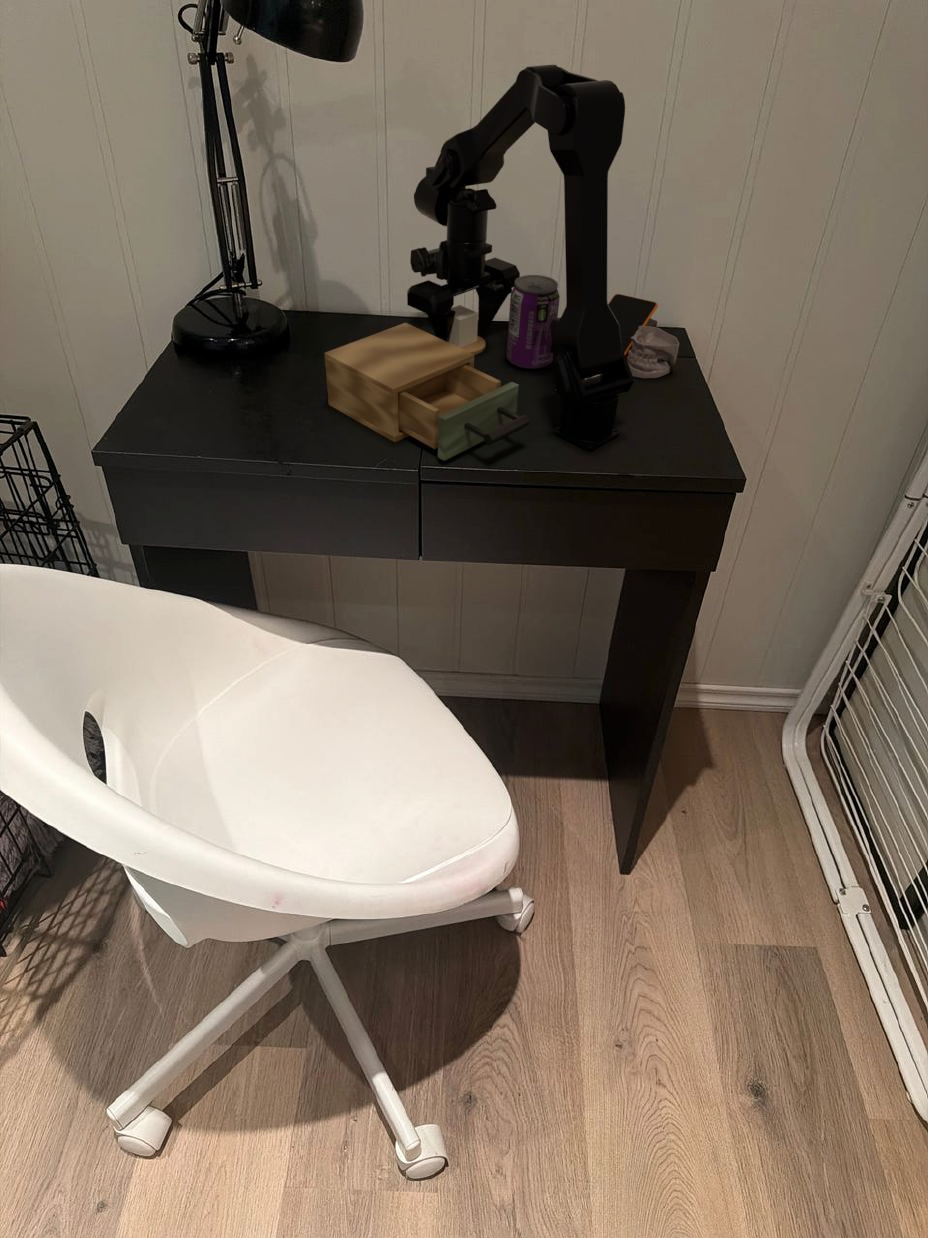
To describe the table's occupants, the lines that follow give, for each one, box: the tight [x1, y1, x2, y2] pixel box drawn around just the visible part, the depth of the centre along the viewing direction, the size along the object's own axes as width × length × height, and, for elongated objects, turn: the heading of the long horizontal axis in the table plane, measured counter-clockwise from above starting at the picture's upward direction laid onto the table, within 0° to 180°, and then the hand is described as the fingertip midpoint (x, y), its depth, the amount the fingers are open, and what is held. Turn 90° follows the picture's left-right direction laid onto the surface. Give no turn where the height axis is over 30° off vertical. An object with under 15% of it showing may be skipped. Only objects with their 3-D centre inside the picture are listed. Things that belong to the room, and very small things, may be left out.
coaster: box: [461, 335, 486, 356], centre depth 132 cm, size 7×7×1 cm
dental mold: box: [626, 326, 680, 379], centre depth 126 cm, size 8×7×5 cm
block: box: [449, 304, 479, 348], centre depth 130 cm, size 4×4×4 cm
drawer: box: [398, 364, 531, 462], centre depth 109 cm, size 17×13×6 cm
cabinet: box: [323, 322, 475, 443], centre depth 115 cm, size 14×15×8 cm
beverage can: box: [505, 274, 560, 370], centre depth 124 cm, size 7×7×12 cm
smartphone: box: [600, 293, 659, 375], centre depth 129 cm, size 8×17×1 cm, turn 147°
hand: (463, 340), depth 131 cm, fingers open, 8 cm apart
